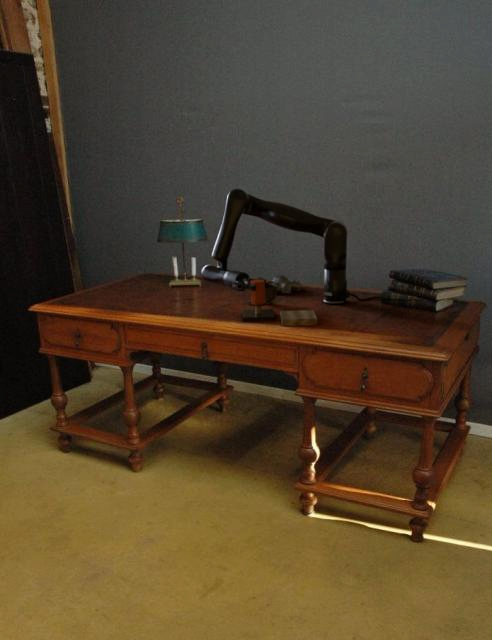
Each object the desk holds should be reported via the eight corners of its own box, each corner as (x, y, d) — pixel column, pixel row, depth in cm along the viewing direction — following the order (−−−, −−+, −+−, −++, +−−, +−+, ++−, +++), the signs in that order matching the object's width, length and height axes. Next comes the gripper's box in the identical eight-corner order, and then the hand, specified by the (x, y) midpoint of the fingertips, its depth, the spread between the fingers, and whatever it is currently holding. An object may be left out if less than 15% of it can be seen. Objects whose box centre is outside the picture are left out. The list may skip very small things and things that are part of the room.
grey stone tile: (313, 316, 258) (313, 310, 257) (317, 325, 246) (317, 318, 245) (280, 317, 258) (280, 311, 257) (282, 326, 245) (282, 319, 245)
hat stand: (272, 312, 264) (272, 279, 259) (274, 320, 253) (274, 285, 248) (243, 313, 264) (241, 280, 259) (243, 321, 253) (242, 286, 248)
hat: (268, 301, 261) (267, 278, 257) (268, 306, 253) (268, 282, 250) (247, 301, 260) (247, 279, 257) (248, 306, 253) (247, 283, 250)
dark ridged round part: (275, 306, 274) (275, 287, 271) (258, 305, 276) (257, 286, 273) (278, 302, 281) (278, 283, 278) (261, 301, 282) (261, 283, 279)
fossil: (279, 277, 312) (297, 263, 300) (291, 297, 313) (309, 285, 300) (253, 289, 302) (270, 276, 290) (265, 310, 303) (282, 298, 290)
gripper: (221, 273, 259) (246, 279, 247) (250, 268, 267) (276, 274, 255) (222, 292, 262) (247, 299, 250) (251, 287, 270) (276, 293, 258)
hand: (261, 286), depth 252 cm, fingers closed on hat, 5 cm apart
